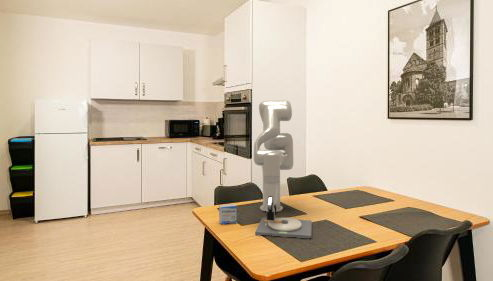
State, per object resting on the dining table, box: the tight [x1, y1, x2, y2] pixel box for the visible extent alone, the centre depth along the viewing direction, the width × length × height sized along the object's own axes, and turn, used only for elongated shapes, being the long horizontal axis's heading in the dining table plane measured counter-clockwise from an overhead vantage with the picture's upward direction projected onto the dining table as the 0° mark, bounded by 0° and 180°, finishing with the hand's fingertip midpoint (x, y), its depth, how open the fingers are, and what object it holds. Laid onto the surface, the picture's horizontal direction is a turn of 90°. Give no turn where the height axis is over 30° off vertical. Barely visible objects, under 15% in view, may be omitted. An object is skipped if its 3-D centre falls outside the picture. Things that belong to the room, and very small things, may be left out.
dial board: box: [254, 217, 313, 239], centre depth 148 cm, size 20×24×2 cm
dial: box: [264, 208, 301, 231], centre depth 148 cm, size 17×15×8 cm
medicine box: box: [218, 203, 238, 225], centre depth 157 cm, size 8×4×9 cm, turn 105°
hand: (271, 217), depth 149 cm, fingers open, 7 cm apart
